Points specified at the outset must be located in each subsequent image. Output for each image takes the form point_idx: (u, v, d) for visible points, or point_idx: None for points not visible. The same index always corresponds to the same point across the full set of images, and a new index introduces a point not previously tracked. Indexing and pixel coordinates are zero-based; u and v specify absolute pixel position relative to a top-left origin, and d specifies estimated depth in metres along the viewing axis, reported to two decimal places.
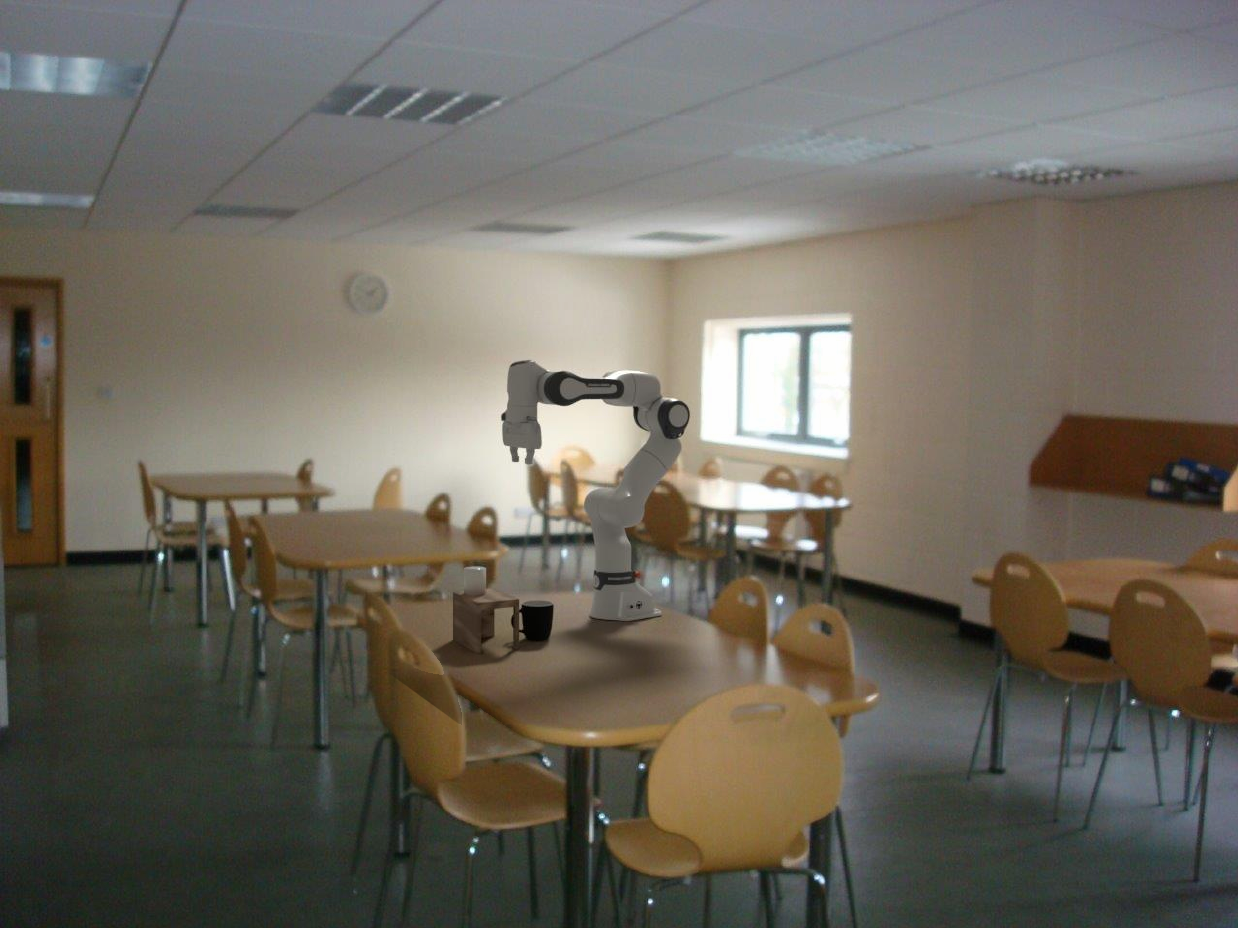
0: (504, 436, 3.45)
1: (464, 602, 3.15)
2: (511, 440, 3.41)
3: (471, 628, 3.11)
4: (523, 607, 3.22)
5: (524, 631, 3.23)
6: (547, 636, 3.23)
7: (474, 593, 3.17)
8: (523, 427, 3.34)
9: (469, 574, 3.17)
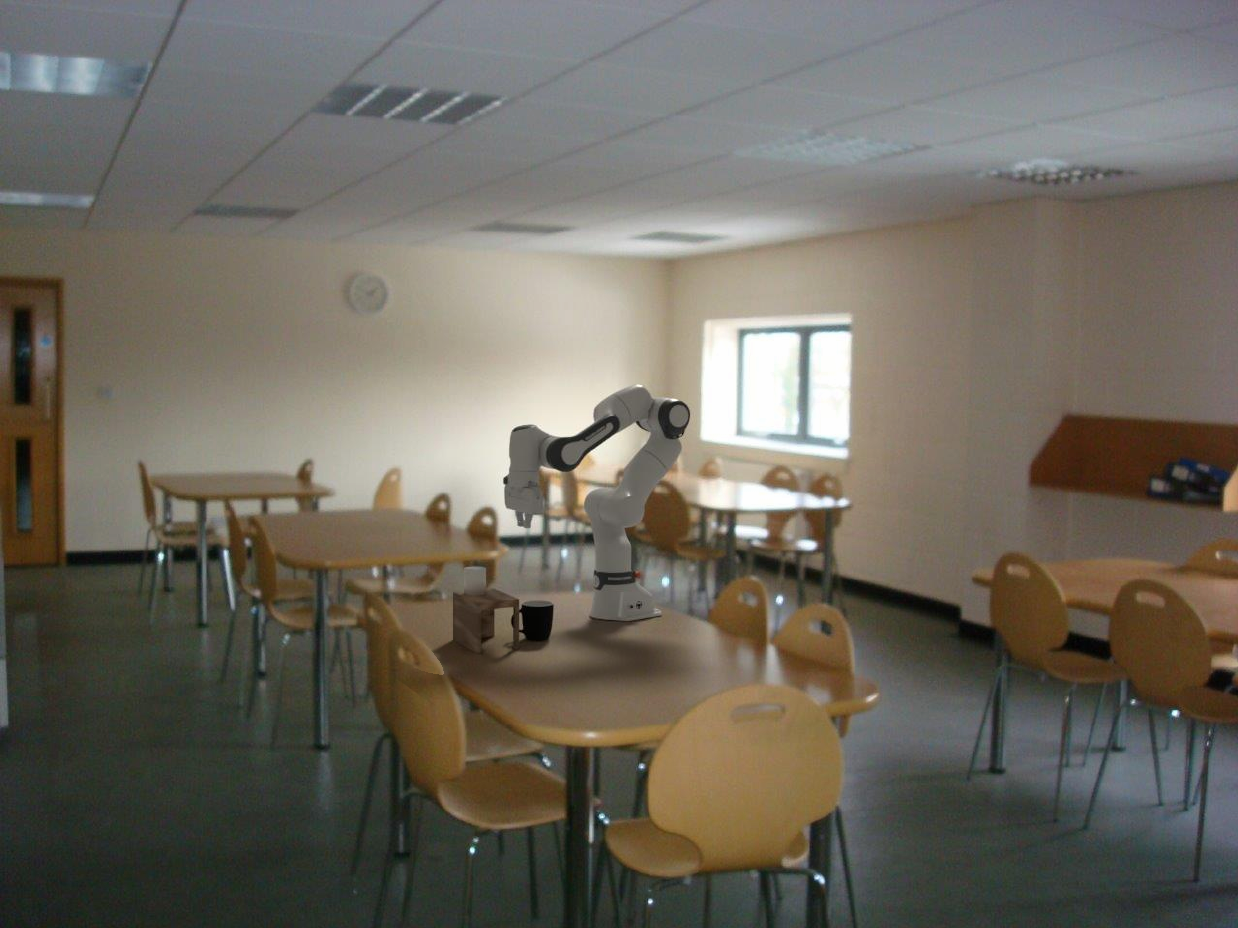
0: (506, 499, 3.47)
1: (464, 602, 3.15)
2: (513, 504, 3.43)
3: (471, 628, 3.11)
4: (523, 607, 3.22)
5: (524, 631, 3.23)
6: (547, 636, 3.23)
7: (474, 593, 3.17)
8: (525, 492, 3.35)
9: (469, 574, 3.17)
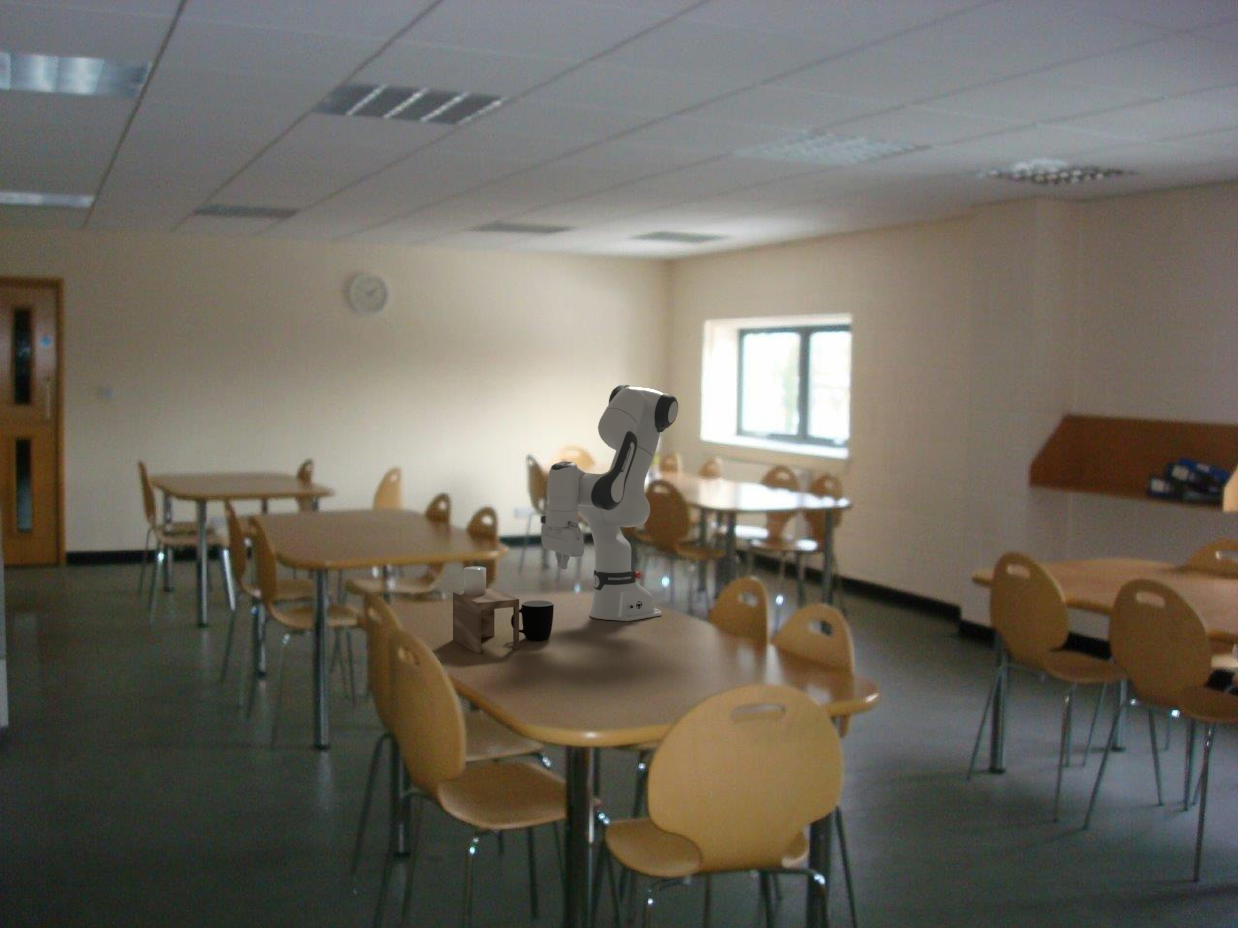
0: (543, 538, 3.34)
1: (464, 602, 3.15)
2: (551, 544, 3.30)
3: (471, 628, 3.11)
4: (523, 607, 3.22)
5: (524, 631, 3.23)
6: (547, 636, 3.23)
7: (474, 593, 3.17)
8: (564, 533, 3.22)
9: (469, 574, 3.17)
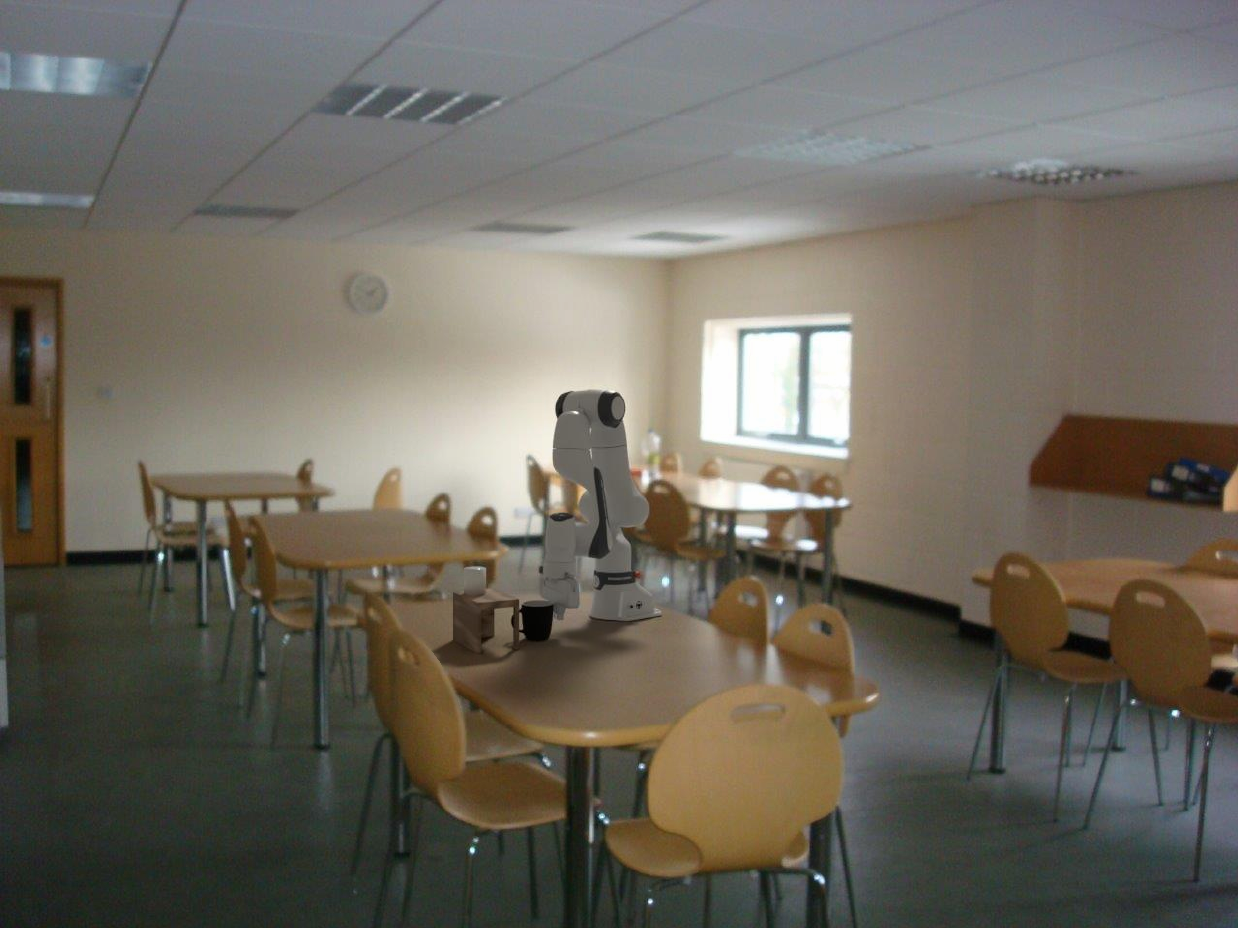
0: (541, 588, 3.35)
1: (464, 602, 3.15)
2: (548, 595, 3.31)
3: (471, 628, 3.11)
4: (523, 607, 3.22)
5: (524, 631, 3.23)
6: (547, 636, 3.23)
7: (474, 593, 3.17)
8: (561, 584, 3.23)
9: (469, 574, 3.17)
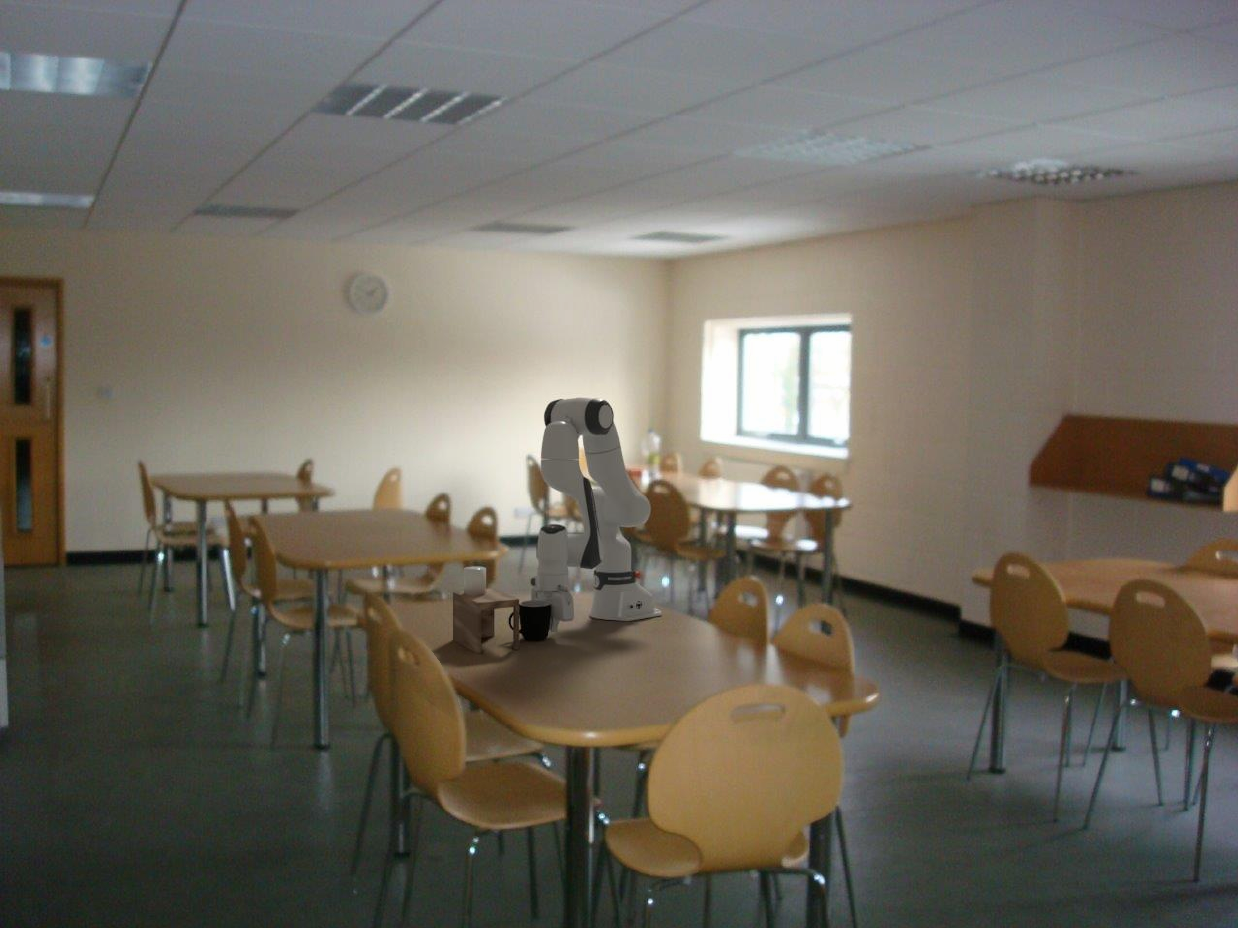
0: None
1: (464, 602, 3.15)
2: None
3: (471, 628, 3.11)
4: (520, 607, 3.22)
5: (522, 631, 3.23)
6: (545, 636, 3.23)
7: (474, 593, 3.17)
8: (554, 597, 3.22)
9: (469, 574, 3.17)
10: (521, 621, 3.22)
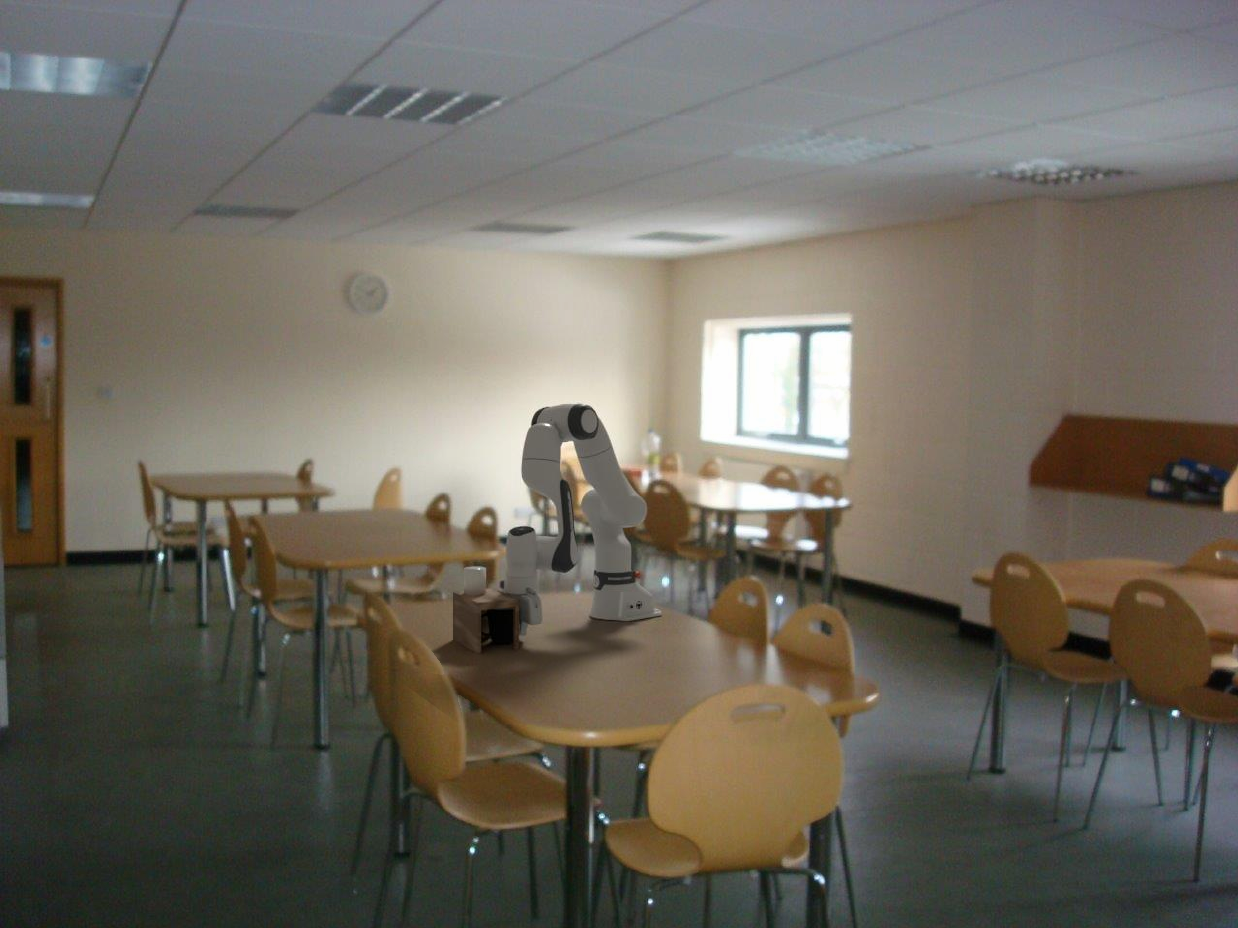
0: None
1: (464, 602, 3.15)
2: None
3: (471, 628, 3.11)
4: (489, 610, 3.17)
5: (490, 635, 3.18)
6: None
7: (474, 593, 3.17)
8: (522, 600, 3.17)
9: (469, 574, 3.17)
10: (490, 624, 3.18)
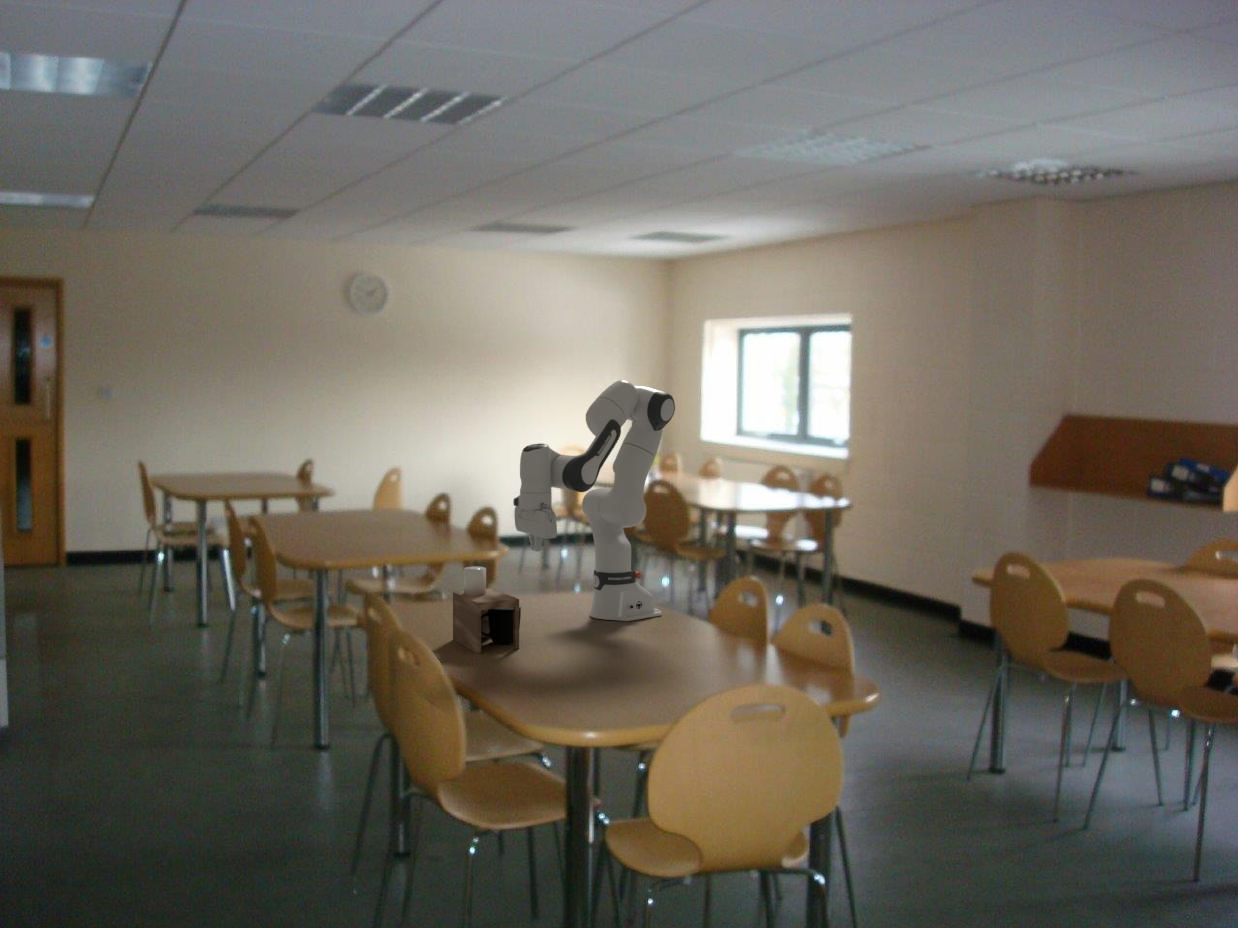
0: (517, 521, 3.33)
1: (464, 602, 3.15)
2: (524, 526, 3.29)
3: (471, 628, 3.11)
4: (490, 610, 3.17)
5: (491, 635, 3.18)
6: None
7: (474, 593, 3.17)
8: (537, 515, 3.21)
9: (469, 574, 3.17)
10: (490, 624, 3.18)
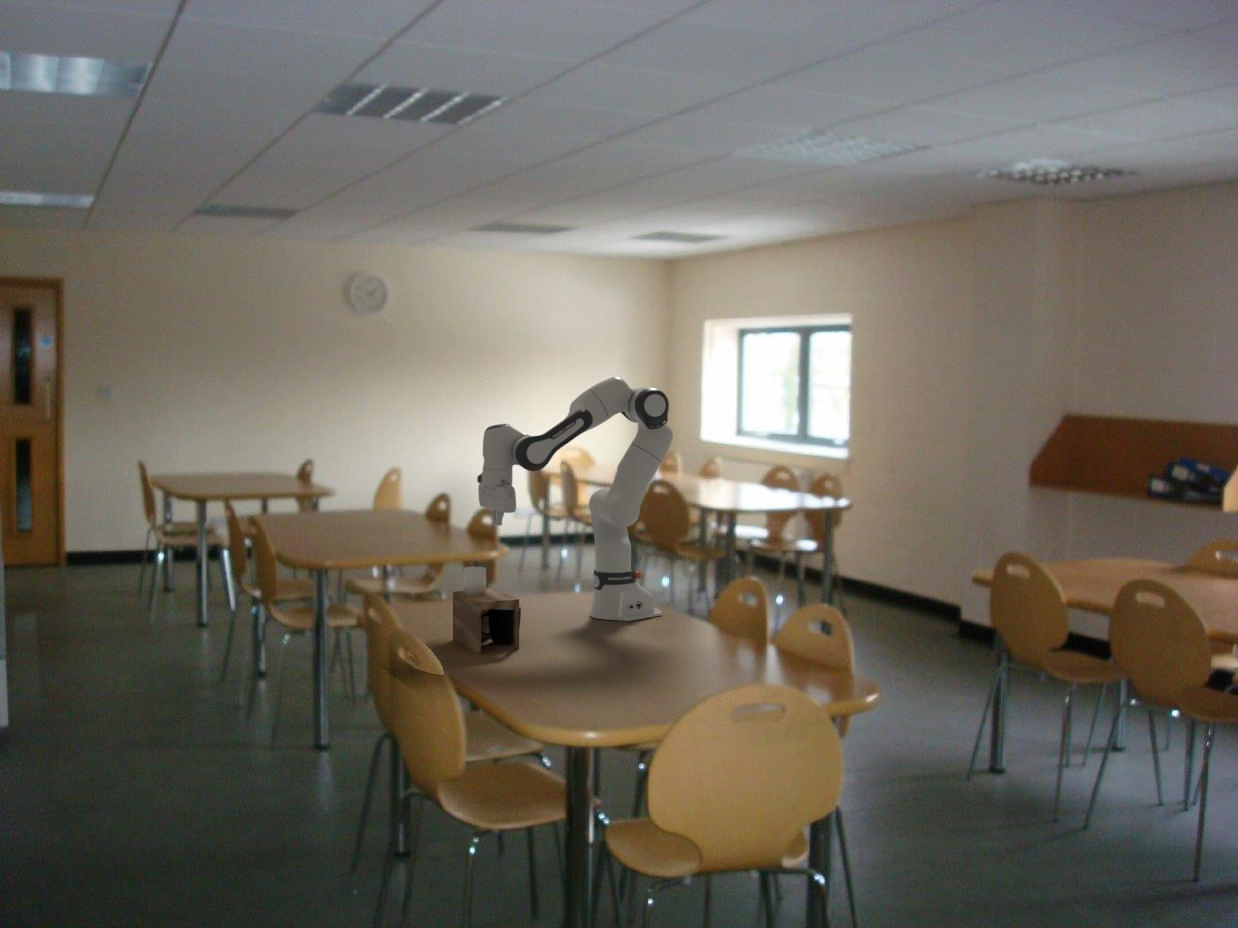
0: (480, 497, 3.52)
1: (464, 602, 3.15)
2: (487, 502, 3.47)
3: (471, 628, 3.11)
4: (490, 610, 3.17)
5: (491, 635, 3.18)
6: None
7: (474, 593, 3.17)
8: (498, 490, 3.40)
9: (469, 574, 3.17)
10: (490, 624, 3.18)
